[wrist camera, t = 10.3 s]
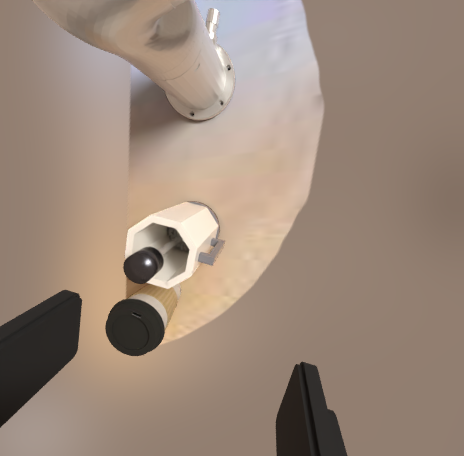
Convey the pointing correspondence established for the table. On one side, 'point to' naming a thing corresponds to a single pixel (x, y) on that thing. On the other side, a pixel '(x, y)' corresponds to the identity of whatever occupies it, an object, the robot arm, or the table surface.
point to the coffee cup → (142, 319)
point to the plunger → (151, 259)
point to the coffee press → (192, 232)
